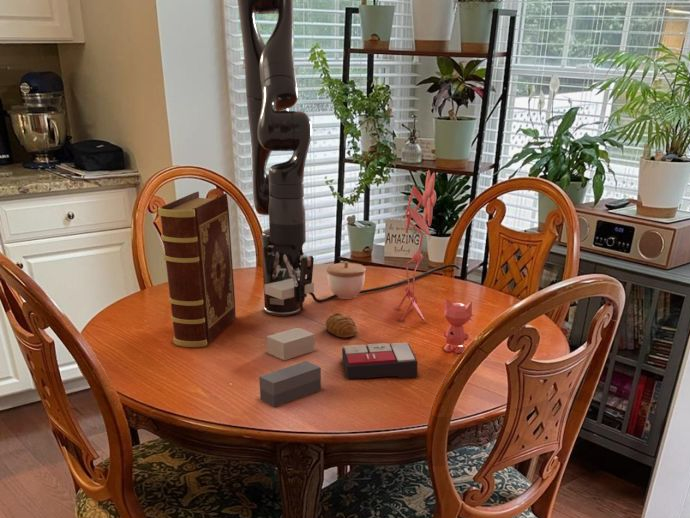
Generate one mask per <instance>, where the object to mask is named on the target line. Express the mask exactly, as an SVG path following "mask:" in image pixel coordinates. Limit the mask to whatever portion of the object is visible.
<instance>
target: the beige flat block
mask: <svg viewBox="0 0 690 518" xmlns="http://www.w3.org/2000/svg"><path fill="white" fill-rule="evenodd" d="M298 280H300V278H298ZM294 286H295V285H294V282H293V279H292V278H291V279H287V280H282V281H278V282H273V283H269V284H265V285H264V284H263V291H264V290H265V294H267V295H270V296H273V297H276V298H278V299H281V300H283V299H287V298H291V297H294ZM309 293H315V283H314V282H312V283H311V284H307V285H305V294H307V295H309Z"/></svg>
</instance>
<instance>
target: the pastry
mask: <svg viewBox="0 0 690 518" xmlns="http://www.w3.org/2000/svg"><path fill="white" fill-rule="evenodd" d="M325 327H326V330H327V331H328V332H329V333H331V334H332V335H334V336H335V337H338V338H348V337H355V336H356V334H357V333H358V330H357V328H358V327H357V325H356V322H355V320H354V319H353V318H352V317H351V315H350V316H349V315H346V314H344V313H341V312H335V313H333V314H331V315H329V317H327V319H326V321H325Z"/></svg>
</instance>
